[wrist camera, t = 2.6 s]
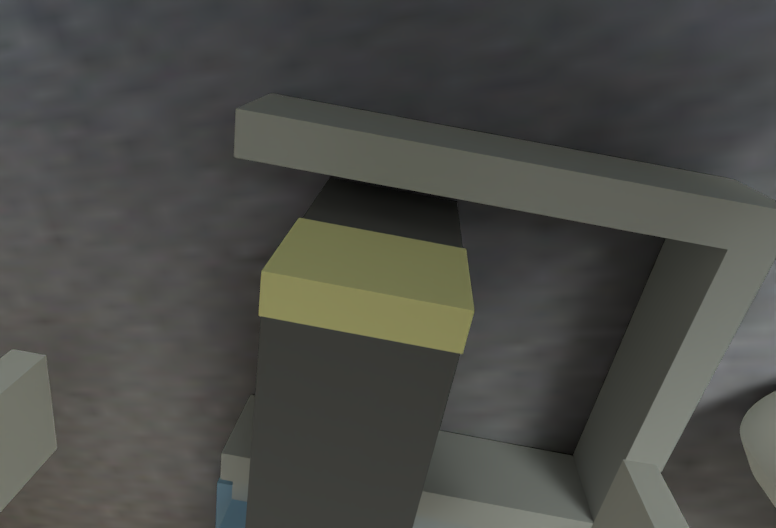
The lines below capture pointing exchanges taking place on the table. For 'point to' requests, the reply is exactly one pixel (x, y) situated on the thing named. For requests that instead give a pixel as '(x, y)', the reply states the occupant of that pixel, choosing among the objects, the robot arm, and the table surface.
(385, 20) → the table surface
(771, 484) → the cable organizer
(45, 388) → the robot arm
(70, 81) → the table surface
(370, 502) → the yellow-capped grey block
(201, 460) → the table surface
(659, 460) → the grey frame
